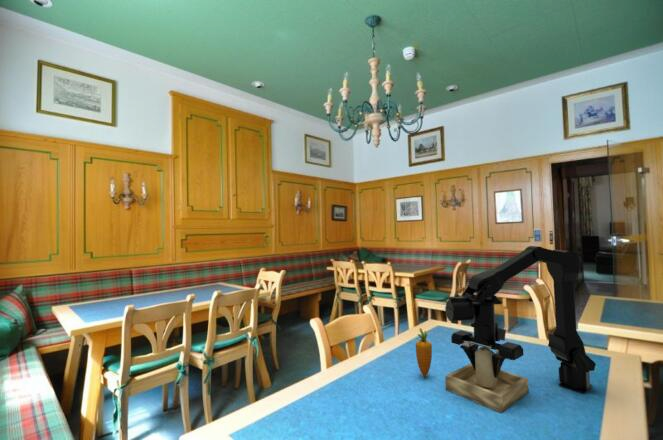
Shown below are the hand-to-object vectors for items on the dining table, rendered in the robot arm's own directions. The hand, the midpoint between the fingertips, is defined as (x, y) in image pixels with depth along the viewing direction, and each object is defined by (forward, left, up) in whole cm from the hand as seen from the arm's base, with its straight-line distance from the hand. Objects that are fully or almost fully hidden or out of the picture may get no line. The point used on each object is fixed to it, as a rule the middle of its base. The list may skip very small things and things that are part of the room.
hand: (486, 373), depth 95 cm
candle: (0, 0, -3) cm, 3 cm away
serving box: (0, 0, -5) cm, 5 cm away
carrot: (+17, +6, -5) cm, 19 cm away
